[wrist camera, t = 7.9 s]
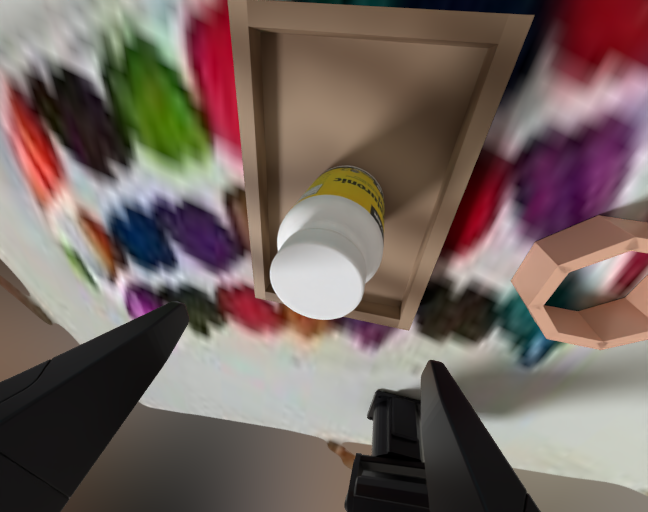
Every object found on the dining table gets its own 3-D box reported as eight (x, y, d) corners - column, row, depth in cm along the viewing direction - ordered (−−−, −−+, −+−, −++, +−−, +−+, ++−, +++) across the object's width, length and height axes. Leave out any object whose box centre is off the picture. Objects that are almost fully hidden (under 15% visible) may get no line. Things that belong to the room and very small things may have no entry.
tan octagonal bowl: (610, 326, 20) (640, 358, 18) (496, 303, 22) (510, 331, 19) (708, 231, 16) (768, 257, 13) (555, 209, 17) (584, 229, 14)
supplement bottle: (401, 207, 18) (411, 301, 10) (343, 247, 21) (314, 347, 13) (350, 144, 16) (314, 196, 8) (295, 196, 19) (228, 273, 11)
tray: (407, 310, 24) (409, 330, 22) (265, 281, 26) (255, 297, 24) (511, 27, 13) (534, 15, 11) (250, 11, 15) (227, -2, 13)
